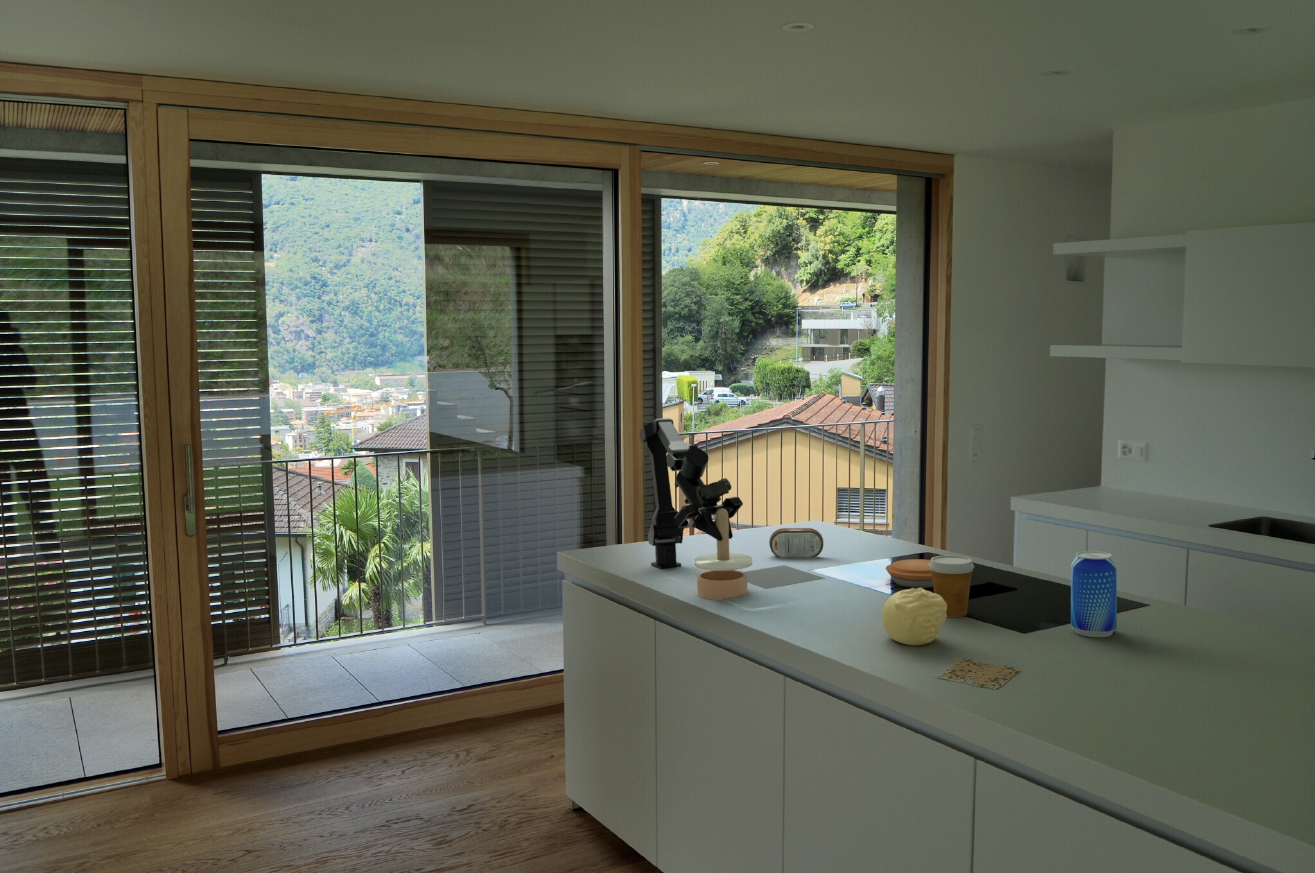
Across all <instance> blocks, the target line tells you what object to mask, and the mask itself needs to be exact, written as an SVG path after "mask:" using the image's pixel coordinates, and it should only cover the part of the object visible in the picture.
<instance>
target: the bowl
mask: <svg viewBox="0 0 1315 873" xmlns="http://www.w3.org/2000/svg"><path fill="white" fill-rule="evenodd" d="M744 572H745V571H741V570H728V571H714V570H705V571H702V572H699V573H698V574H697V575H696V586H697V587H696V589H697V592H696V593H697V596H698V597H699V596H700V598H702V599H706V600H711V601H726V600H727V599H732V598H737V597H741V596H744V595H746V594H747V593H748V590H749V587H748V582H747V574H746V573H744Z"/></svg>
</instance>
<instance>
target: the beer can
mask: <svg viewBox="0 0 1315 873" xmlns="http://www.w3.org/2000/svg"><path fill="white" fill-rule="evenodd" d="M1075 555H1076V556H1075V558H1074V559H1073V560H1072V562H1071V564H1070V626H1071V627H1072V629H1073V630H1074V632H1075V633H1076V634H1077V635H1080V636H1084V637H1089V638H1090V637H1091V638H1107V637H1111V636H1112V635H1113V633H1114V632H1115V631H1116V629H1117V626H1118V624H1117V620H1118V619H1117V617H1118V616H1117V614H1118V612H1117V609H1118V607H1117V603H1118V602H1117V597H1118V592H1117V591H1118V589H1117V588H1118V578H1117V577H1118V576H1117V575H1118V571H1117V570H1118V567H1117V564H1116V563H1115V561H1114V560H1113V558H1112V557H1113V556H1112V554H1111V553H1108V552H1105V551H1098V550H1097V551H1096V550H1083V551H1077V552H1076V553H1075Z"/></svg>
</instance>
